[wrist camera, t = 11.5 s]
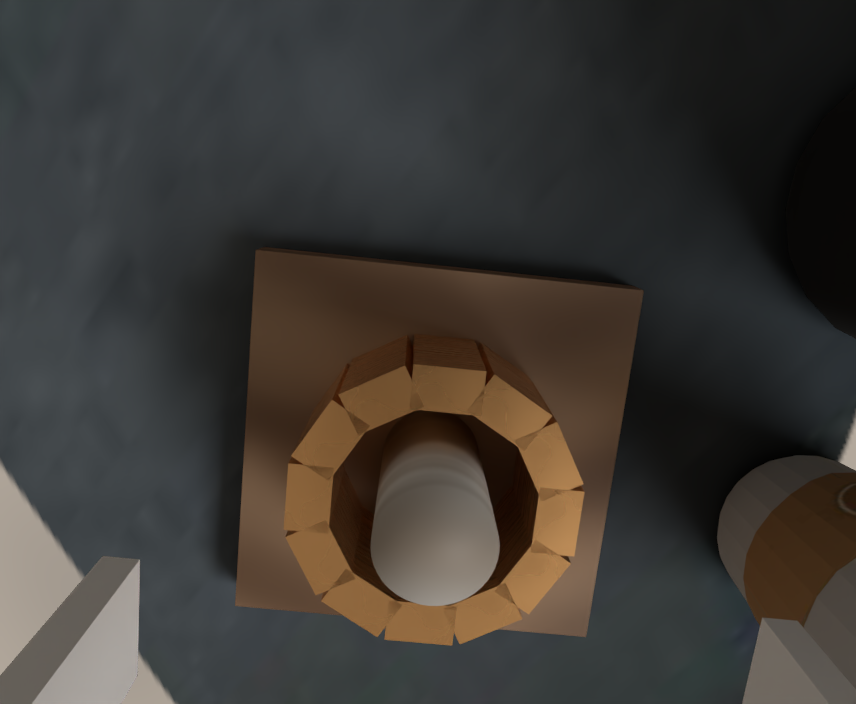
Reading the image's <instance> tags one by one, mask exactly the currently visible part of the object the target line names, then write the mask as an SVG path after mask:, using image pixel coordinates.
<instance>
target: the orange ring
mask: <svg viewBox="0 0 856 704" xmlns="http://www.w3.org/2000/svg"><path fill="white" fill-rule="evenodd" d="M415 410H424V411H434V412H444V413H454V414H465V415H473V416H475V417H476V418H478V419H479V420H480V421H482V422H483V423H485V424H486V425H488V426H489V427H490V428H492V429H493V430H495V431H496V432H497V433H499V434H500V435H502V436H503V437H505V438H506V439H507V440H509V441H510V442H512V443H513V444H515V445H516V446H517V452H516V459H515V466H514V474H513V481H512V485H511V487H510V488H509V489H508V490H507V492H506V493H505V494H504V495H503V497H502V498H501V499H500V501H499V502H498V503H497V504H496V506H495V507H494V508H493V513H494V518H495V522H496V526H497V530H498V535H499V542H500V549H499V557H498V561H497V564H496V567H495V569H494V571H493V573H492V575H491V576H490V578H489V579H488V581H487V582H486V583H485V584H484V585H483V586H482V587H481V588H480V589H479V590H478V591H477V592H476V593H474V594H473V595H471V596H469V597H468V598H466V599H464V600H462V601H459V602H456V603H453V604H448V605H442V606H427V605H420V604H417V603H413V602H410V601H408V600H405V599H403V598H402V597H400V596H398V595H397V594H395V593H394V592H393V591H391V590H390V589H389V588H388V587H387V586H386V585H385V584H384V582H383V581H382V580H381V579H380V577H379V575H378V574H377V572H376V569H375V567H374V565H373V561H372V557H371V536H372V529H373V521H374V514H373V513H371V512H370V511H368V510H367V509H365V508H364V507H363V505H362V503H361V501H360V499H359V497H358V495H357V493H356V491H355V489H354V487H353V485H352V483H351V481H350V479H349V477H348V475H347V473H346V471H345V459H346V457H347V456H348V455H349V453H350V452H351V451H352V449H353V448H354V447H355V445H356V444H357V443H358V441H359V440H360V439H361V437H362V436H363V434H364V433H365V432H366V431H369V430H371V429H373V428H376V427H378V426H380V425H383V424H385V423H387V422H390V421H392V420H394V419H397V418H399V417H401V416H404V415H406V414H408V413H411V412H413V411H415ZM291 456H292V457H291V459H290V461H289V463H288V474H287V488H286V502H285V516H284V530H288V531H287V534H286V536H285V538H286V540H287V542H288V544H289V545H290V547H291V549H292V551H293V553H294V555H295V557H296V559H297V561H298V563H299V565H300V566H301V568H302V570H303V572H304V574H305V576H306V578H307V580H308V582H309V584H310V585H311V587H312V589H313V591H314V593H315V595H318V594H320V593H323V595H322V599H321V601H322V602H323V603H325V604H326V605H328V606H329V607H331V608H333V609H334V610H336V611H337V612H339V613H340V614H342V615H343V616H345V617H347V618H348V619H350V620H351V621H353V622H354V623H356V624H358V625H359V626H361V627H362V628H364V629H365V630H367V631H368V632H370V633H372V634H373V635H375V636H376V637H378V635H379V634H380V633H381V632H382V630H383V629H384V628H385V627H386V628H385V640H395V641H406V642H418V643H429V644H441V645H452V642H453V635H454V633H455V635H456V637H457V639H458V641H459V643H460V644H462V643H464V642H467V641H469V640H472V639H474V638H477V637H479V636H482V635H484V634H487V633H489V632H492V631H494V630H497V629H499V628H502V627H504V626H507V625H509V624H512V623H514V622H516V621H519V620H521V619H522V615H521V611H520V609H521V610H523V611H524V612H526V613H527V614H530V612H531V611H532V610H533V609H534V608H535V606H536V605H537V604H538V603H539V602H540V600H541V599H542V598H543V597H544V596H545V594H546V593H547V592H548V591H549V590H550V588H551V587H552V586H553V585H554V583H555V582H556V581H557V580H558V579H559V577H560V576H561V575H562V574H563V573H564V571H565V570H566V569H567V568H568V567H569V565H570V564H571V562H570V560H569V557H568V556H573V557H574V555H575V549H576V543H577V536H578V530H579V524H580V517H581V511H582V505H583V499H584V490H583V488H582V486H581V485H583V481H582V479H581V477H580V474H579V472H578V470H577V467H576V465H575V462H574V460H573V458H572V455H571V453H570V451H569V448H568V446H567V444H566V441H565V439H564V437H563V434H562V432H561V430H560V427H559V425H558V422H557V421H556V419H555V417H554V416H553V414H552V413H551V411H550V409H549V408H548V406H547V404H546V403H545V401H544V399H543V398H542V396H541V395H540V393H539V391H538V390H537V388H536V386H535V385H534V383H533V382H531V380H530V378H529V377H528V376H527V375H526V374H524V373H523V372H522V371H520V370H519V369H517V368H516V367H515V366H513V365H512V364H511V363H509V362H508V361H506V360H505V359H504V358H502V357H501V356H499V355H498V354H497V353H495V352H494V351H492V350H491V349H490V348H488V347H487V346H486V345H484V344H483V343H481V342H480V344H479V345H478V346H477V345H476V343H475V340H473V339H464V338H454V337H444V336H434V335H424V334H415V333H414V342H413V346H412V343H411V341H410V339H409V337H408V335H405V336H403V337H401V338H399V339H396V340H394V341H392V342H389V343H387V344H385V345H383V346H380V347H378V348H376V349H374V350H371V351H369V352H367V353H364V354H362V355H360V356H358V357H355V358H353V359H352V362H351V364H348V363H347V364H346V366H345V367H344V368H343V370H342V371H341V373H340V374H339V375H338V377H337V378H336V379H335V381H334V382H333V384H332V385H331V386H330V388H329V389H328V390H327V392H326V393H325V395H324V396H323V397H322V399H321V400H320V402H319V403H318V404H317V406H316V407H315V408H314V410H313V412H312V414H311V416H310V418H309V420H308V422H307V424H306V426H305V428H304V430H303V432H302V435H301V437H300V439H299V441H298V443H297V445H296V447H295V449H294V451H293V453H292V455H291Z"/></svg>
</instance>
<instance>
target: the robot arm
mask: <svg viewBox="0 0 856 704" xmlns="http://www.w3.org/2000/svg"><path fill="white" fill-rule="evenodd" d="M139 579H140V560H139V559H128V558H117V557H107V556H102V557H101V559H100V560H99V561H98V562H97V563H96V564H95V566H94V567H93V568H92V569H91V570H90V571H89V573H88V574H87V575H86V576H85V577H84V578H83V580H82V581H81V582H80V583H79V584H78V585H77V587H76V588H75V589H74V590H73V591H72V593H71V594H70V595H69V596H68V597H67V598H66V599H65V601H64V602H63V603H62V604H61V605H60V607H59V608H58V609H57V610H56V611H55V612H54V614H53V615H52V616H51V617H50V618H49V620H48V621H47V622H46V623H45V624H44V625H43V626H42V628H41V629H40V630H39V631H38V632H37V633H36V635H35V636H34V637H33V638H32V639H31V640H30V642H29V643H28V644H27V645H26V646H25V647H24V649H23V650H22V651H21V652H20V653H19V654H18V656H17V657H16V658H15V659H14V660H13V661H12V663H11V664H10V665H9V666H8V667H7V668H6V670H5V671H4V672H3V673H2V674H1V675H0V704H121V703H122V702H123V700H124V698H125V696H126V694H127V693H128V691H129V689H130V688H131V686H132V684H133V682H134V681H135V679H136V677H137V675H138V674H137V673H138V628H139ZM742 704H856V689H855V688H854V687H853V685H852V684H851V683H850V682H849V681H848V680H847V678H846V677H845V676H844V675H843V674H842V673H841V671H840V670H839V669H838V668H837V667H836V665H835V664H834V663H833V662H832V661H831V660H830V658H829V657H828V656H827V655H826V654H825V653H824V651H823V650H822V649H821V648H820V647H819V645H818V644H817V643H816V642H815V641H814V640H813V638H812V637H811V636H810V635H809V634H808V632H807V631H806V630H805V629H804V628H803V627H802V625H801V624H800V623H799V622H798V621H794V620H783V619H773V618H762V621H761V625H760V629H759V634H758V638H757V642H756V647H755V651H754V655H753V659H752V664H751V668H750V672H749V677H748V681H747V685H746V690H745V694H744V698H743V702H742Z"/></svg>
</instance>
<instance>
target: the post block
mask: <svg viewBox="0 0 856 704" xmlns="http://www.w3.org/2000/svg"><path fill="white" fill-rule="evenodd" d="M643 293H644V290H641V289H639V288H637V287H634V286H631V285H621V284H612V283H602V282H593V281H583V280H574V279H564V278H555V277H545V276H536V275H526V274H517V273H507V272H498V271H488V270H479V269H469V268H460V267H450V266H441V265H431V264H422V263H412V262H403V261H393V260H384V259H374V258H365V257H355V256H346V255H336V254H327V253H317V252H308V251H298V250H289V249H279V248H270V247H263V248H260V249H257V250H256V253H255V271H254V288H253V305H252V322H251V340H250V357H249V374H248V392H247V409H246V426H245V444H244V461H243V478H242V496H241V513H240V530H239V548H238V565H237V582H236V600H235V606H242V607H254V608H265V609H276V610H288V611H299V612H310V613H322V614H333V615H342V614H340V613H339V612H337V611H336V610H334V609H333V608H331V607H329V606H328V605H326V604H325V603H323V602H322V601H321V599H322V595H323V593H320V594H318V595H315V593H314V591H313V589H312V587H311V585H310V584H309V582H308V580H307V578H306V576H305V574H304V572H303V570H302V568H301V566H300V565H299V563H298V561H297V559H296V557H295V555H294V553H293V551H292V549H291V547H290V545H289V544H288V542H287V540H286V538H285V536H286V534H287V531H288V530H284V516H285V502H286V488H287V474H288V463H289V461H290V459H291V457H292V456H291V455H292V453H293V451H294V449H295V447H296V445H297V443H298V441H299V439H300V437H301V435H302V432H303V430H304V428H305V426H306V424H307V422H308V420H309V418H310V416H311V414H312V412H313V410H314V408H315V407H316V406H317V404H318V403H319V402H320V400H321V399H322V397H323V396H324V395H325V393H326V392H327V390H328V389H329V388H330V386H331V385H332V384H333V382H334V381H335V379H336V378H337V377H338V375H339V374H340V373H341V371H342V370H343V368H344V367H345V366H346V364H347V363H348V364H351V362H352V359H353V358H355V357H358V356H360V355H362V354H364V353H367V352H369V351H371V350H374V349H376V348H378V347H380V346H383V345H385V344H387V343H389V342H392V341H394V340H396V339H399V338H401V337H403V336H405V335H408V337H409V339H410V341H411V343H412V346H413V342H414V333H415V334H424V335H434V336H444V337H454V338H464V339H473V340H475V343H476V345H477V346H478V345H479V344H480V342H481V343H483V344H484V345H486V346H487V347H488V348H490V349H491V350H492V351H494V352H495V353H497V354H498V355H499V356H501V357H502V358H504V359H505V360H506V361H508V362H509V363H511V364H512V365H513V366H515V367H516V368H517V369H519V370H520V371H522V372H523V373H524V374H526V375H527V376H528V377H529V378H530V380H531V382H533V383H534V385H535V386H536V388H537V390H538V391H539V393H540V395H541V396H542V398H543V399H544V401H545V403H546V404H547V406H548V408H549V409H550V411H551V413H552V414H553V416H554V417H555V419H556V421H557V422H558V425H559V427H560V430H561V432H562V434H563V437H564V439H565V441H566V444H567V446H568V448H569V451H570V453H571V455H572V458H573V460H574V462H575V465H576V467H577V470H578V472H579V474H580V477H581V479H582V481H583V485H581V486H582V488H583V490H584V499H583V505H582V511H581V517H580V524H579V530H578V536H577V543H576V549H575V555H574V557H573V556H568V557H569V560H570V562H571V564H570V565H569V567H568V568H567V569H566V570H565V571H564V573H563V574H562V575H561V576H560V577H559V579H558V580H557V581H556V582H555V583H554V585H553V586H552V587H551V588H550V590H549V591H548V592H547V593H546V594H545V596H544V597H543V598H542V599H541V600H540V602H539V603H538V604H537V605H536V606H535V608H534V609H533V610H532V611H531V612H530V614H527V613H526V612H524V611H523V610H521V609H520V611H521V615H522V619H521V620H519V621H516V622H514V623H512V624H509V625H507V626H504V627H502V628H499V629H502V630H514V631H525V632H536V633H547V634H559V635H570V636H581V637H586V634H587V628H588V622H589V616H590V610H591V604H592V598H593V592H594V586H595V580H596V574H597V568H598V562H599V556H600V550H601V544H602V538H603V532H604V527H605V521H606V515H607V509H608V503H609V497H610V491H611V485H612V479H613V473H614V467H615V461H616V455H617V449H618V443H619V437H620V431H621V425H622V419H623V413H624V407H625V401H626V395H627V389H628V383H629V377H630V371H631V365H632V359H633V353H634V347H635V341H636V335H637V329H638V323H639V317H640V311H641V305H642V299H643ZM516 452H517V446H516V445H515V444H513V443H512V442H510V441H509V440H507V439H506V438H505V437H503V436H502V435H500V434H499V433H497V432H496V431H495V430H493V429H492V428H490V427H489V426H488V425H486V424H485V423H483V422H482V421H480V420H479V419H478V418H476V417H475V416H473V415H465V414H454V413H444V412H434V411H424V410H415V411H413V412H411V413H408V414H406V415H404V416H401V417H399V418H397V419H394V420H392V421H390V422H387V423H385V424H383V425H380V426H378V427H376V428H373V429H371V430H369V431H366V432H365V433H364V434H363V436H362V437H361V439H360V440H359V441H358V443H357V444H356V445H355V447H354V448H353V449H352V451H351V452H350V453H349V455H348V456H347V457H346V459H345V471H346V473H347V475H348V477H349V479H350V481H351V483H352V485H353V487H354V489H355V491H356V493H357V495H358V497H359V499H360V501H361V503H362V505H363V507H364V508H365V509H367V510H368V511H370V512H371V513H373V514H374V521H373V529H372V536H371V557H372V561H373V565H374V567H375V569H376V572H377V574H378V575H379V577H380V579H381V580H382V581H383V582H384V584H385V585H386V586H387V587H388V588H389V589H390V590H391V591H393V592H394V593H395V594H397V595H398V596H400V597H402V598H403V599H405V600H408V601H410V602H413V603H417V604H420V605H427V606H442V605H448V604H453V603H456V602H459V601H462V600H464V599H466V598H468V597H469V596H471V595H473V594H474V593H476V592H477V591H478V590H479V589H480V588H481V587H482V586H483V585H484V584H485V583H486V582H487V581H488V579H489V578H490V576H491V575H492V573H493V571H494V569H495V567H496V564H497V561H498V557H499V549H500V542H499V535H498V530H497V526H496V522H495V518H494V513H493V508H494V507H495V506H496V504H497V503H498V502H499V501H500V499H501V498H502V497H503V495H504V494H505V493H506V492H507V490H508V489H509V488H510V487H511V485H512V481H513V474H514V466H515V459H516Z"/></svg>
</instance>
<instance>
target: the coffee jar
mask: <svg viewBox="0 0 856 704" xmlns="http://www.w3.org/2000/svg"><path fill="white" fill-rule="evenodd" d="M786 224H787V239H788V253H789V256H790V258H791V261H792V263H793V265H794V268H795V270H796V273H797V275H798V277H799V280H800V282H801V285H802V287H803V289H804V292H805V294H806V296H807V297H808V299H809V300H810V301H811V302H812V303H813V304H814V305H815V306H816V307H817V308H818V309H819V311H820V312H821V313H822V314H823V315H824V316H825V317H826V318H827V319H828V320H829V321H830V323H831V324H832V325H833V326H834V327H835V328H837V329H839V330H841V331H842V332H844V333H846V334H848V335H850V336H852V337H854V338H856V87H855V88H854V89H853V90H852V91H851V92H850V93H849V94H848V95H847V96H846V97H845V98H844V99H843V100H842V101H841V102H840V103H839V104H838V105H837V106H836V107H835V108H834V109H833V110H831V111H830V112H829V113H828V114H827V115H826V116H825V117H824V118H823V120H822V121H821V123H820V124H819V126H818V128H817V130H816V131H815V133H814V135H813V137H812V138H811V140H810V142H809V143H808V145H807V147H806V149H805V150H804V152H803V154H802V156H801V157H800V159H799V161H798V162H797V164H796V168H795V172H794V177H793V181H792V185H791V189H790V193H789V197H788V201H787V205H786Z"/></svg>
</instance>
